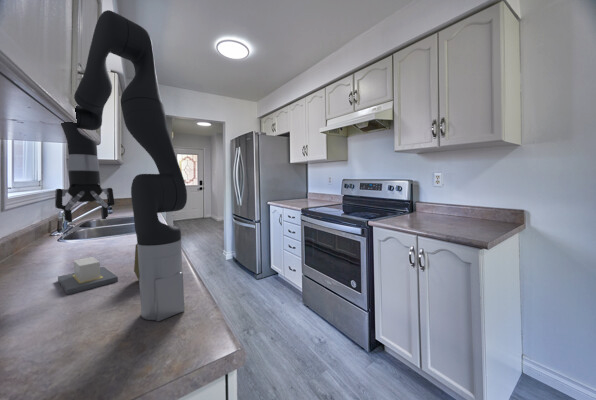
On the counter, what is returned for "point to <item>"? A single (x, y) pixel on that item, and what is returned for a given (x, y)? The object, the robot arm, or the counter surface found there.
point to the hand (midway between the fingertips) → (87, 220)
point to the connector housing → (87, 269)
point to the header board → (74, 285)
